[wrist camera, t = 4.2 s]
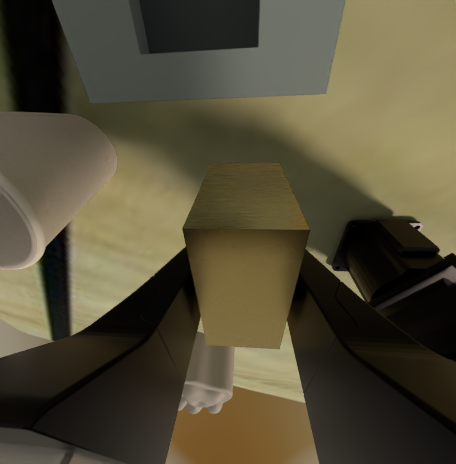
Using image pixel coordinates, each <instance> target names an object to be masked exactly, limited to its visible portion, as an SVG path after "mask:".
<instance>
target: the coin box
mask: <svg viewBox="0 0 456 464" xmlns="http://www.w3.org/2000/svg"><path fill="white" fill-rule="evenodd" d="M52 2H53V5H54V7H55V10H56V13H57V15H58V18H59V21H60V23H61V26H62V29H63V31H64V34H65V37H66V39H67V42H68V45H69V47H70V50H71V53H72V56H73V58H74V61H75V64H76V66H77V69H78V72H79V74H80V77H81V80H82V82H83V85H84V88H85V90H86V93H87V96H88V98H89V101H90V104H93V103H118V102H142V101H167V100H192V99H216V98H241V97H266V96H290V95H315V94H326V91H327V86H328V82H329V77H330V72H331V67H332V62H333V58H334V53H335V48H336V43H337V38H338V34H339V29H340V24H341V19H342V14H343V10H344V5H345V0H52Z"/></svg>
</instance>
